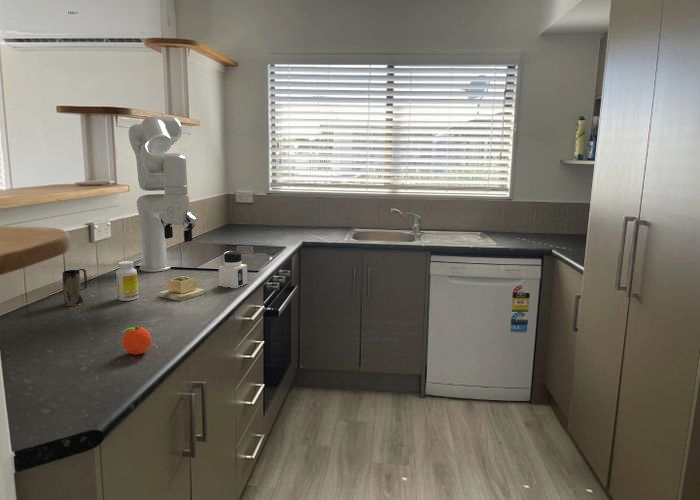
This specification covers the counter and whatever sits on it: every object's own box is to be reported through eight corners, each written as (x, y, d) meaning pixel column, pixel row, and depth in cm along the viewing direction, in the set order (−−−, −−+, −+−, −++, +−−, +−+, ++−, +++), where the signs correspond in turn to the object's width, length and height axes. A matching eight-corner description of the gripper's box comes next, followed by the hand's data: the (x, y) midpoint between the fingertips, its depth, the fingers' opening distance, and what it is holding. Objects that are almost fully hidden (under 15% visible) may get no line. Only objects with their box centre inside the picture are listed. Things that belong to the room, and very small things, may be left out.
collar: (167, 290, 187) (166, 279, 187) (182, 286, 193) (181, 275, 192) (181, 293, 184) (180, 282, 183) (196, 289, 190) (195, 278, 189)
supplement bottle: (143, 297, 186) (140, 261, 183) (129, 302, 180) (126, 265, 177) (127, 295, 188) (124, 259, 185) (113, 300, 182) (110, 263, 179)
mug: (60, 305, 175) (57, 270, 173) (71, 301, 180) (68, 266, 178) (82, 307, 174) (79, 271, 172) (93, 302, 179) (90, 267, 177)
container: (248, 284, 204) (247, 250, 202) (235, 288, 198) (234, 254, 195) (231, 281, 208) (230, 248, 205) (218, 286, 201) (217, 252, 198)
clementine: (114, 359, 133) (112, 331, 131) (124, 348, 140) (122, 322, 138) (147, 358, 133) (145, 331, 132) (155, 348, 140) (154, 322, 139)
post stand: (159, 296, 187) (158, 279, 186) (183, 289, 196) (182, 273, 195) (181, 301, 182) (180, 284, 180) (205, 293, 191) (204, 277, 190)
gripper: (150, 190, 186) (153, 238, 189) (185, 193, 177) (187, 244, 181) (167, 188, 192) (169, 235, 196) (202, 192, 184) (204, 240, 187)
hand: (178, 239), depth 188 cm, fingers open, 9 cm apart
